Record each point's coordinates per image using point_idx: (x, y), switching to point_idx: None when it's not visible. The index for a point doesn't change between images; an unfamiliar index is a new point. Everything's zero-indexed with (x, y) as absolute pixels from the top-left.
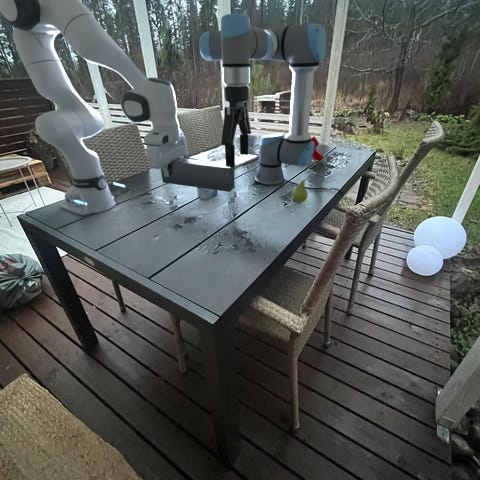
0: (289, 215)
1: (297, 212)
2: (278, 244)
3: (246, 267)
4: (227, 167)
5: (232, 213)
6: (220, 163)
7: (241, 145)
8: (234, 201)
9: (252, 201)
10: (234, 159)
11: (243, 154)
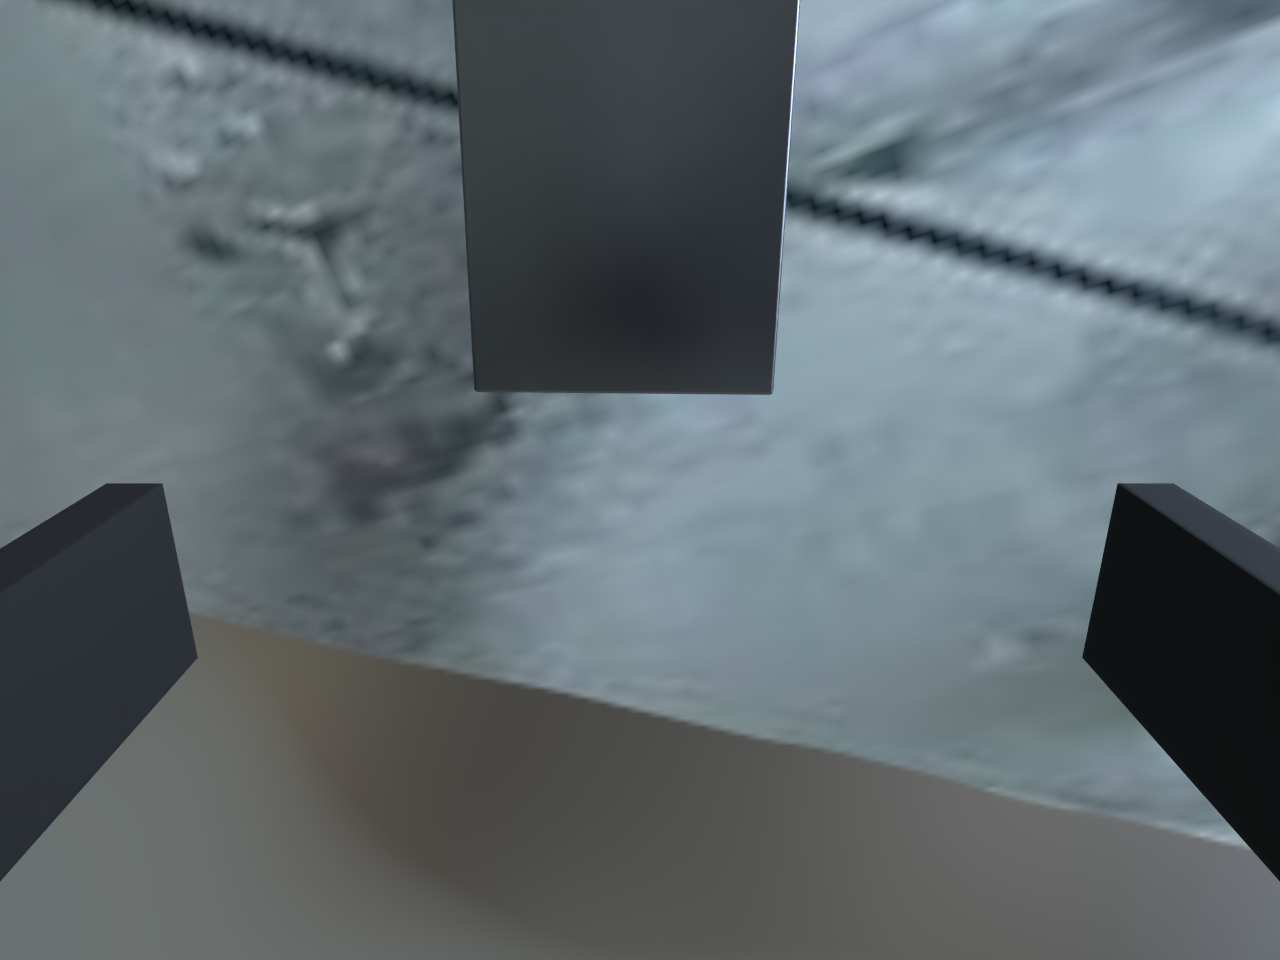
0: (975, 634)
1: (1043, 681)
2: (511, 641)
3: None
4: (503, 340)
5: (912, 126)
6: (726, 62)
7: (1254, 632)
8: (1220, 35)
9: (1237, 245)
10: (86, 758)
11: (1104, 565)
